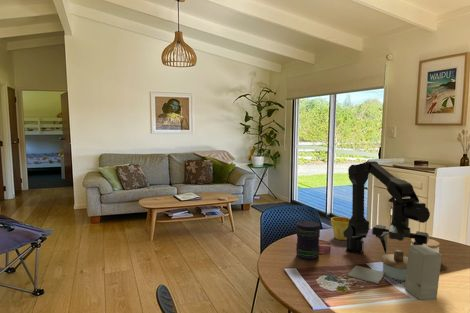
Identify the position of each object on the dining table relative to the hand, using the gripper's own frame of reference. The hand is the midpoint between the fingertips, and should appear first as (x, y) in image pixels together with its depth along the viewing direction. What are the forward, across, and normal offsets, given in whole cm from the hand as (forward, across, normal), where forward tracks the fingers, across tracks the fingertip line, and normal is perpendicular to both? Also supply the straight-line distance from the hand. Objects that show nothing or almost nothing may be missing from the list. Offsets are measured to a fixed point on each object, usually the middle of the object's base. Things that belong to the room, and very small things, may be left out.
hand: (398, 255), depth 126 cm
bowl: (+7, 0, 0) cm, 7 cm away
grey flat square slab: (+7, -10, -8) cm, 14 cm away
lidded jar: (+8, +6, +23) cm, 25 cm away
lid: (+3, 0, 0) cm, 3 cm away
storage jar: (+8, -35, -5) cm, 36 cm away
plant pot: (+8, -32, +29) cm, 44 cm away
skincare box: (+7, +10, -12) cm, 17 cm away
